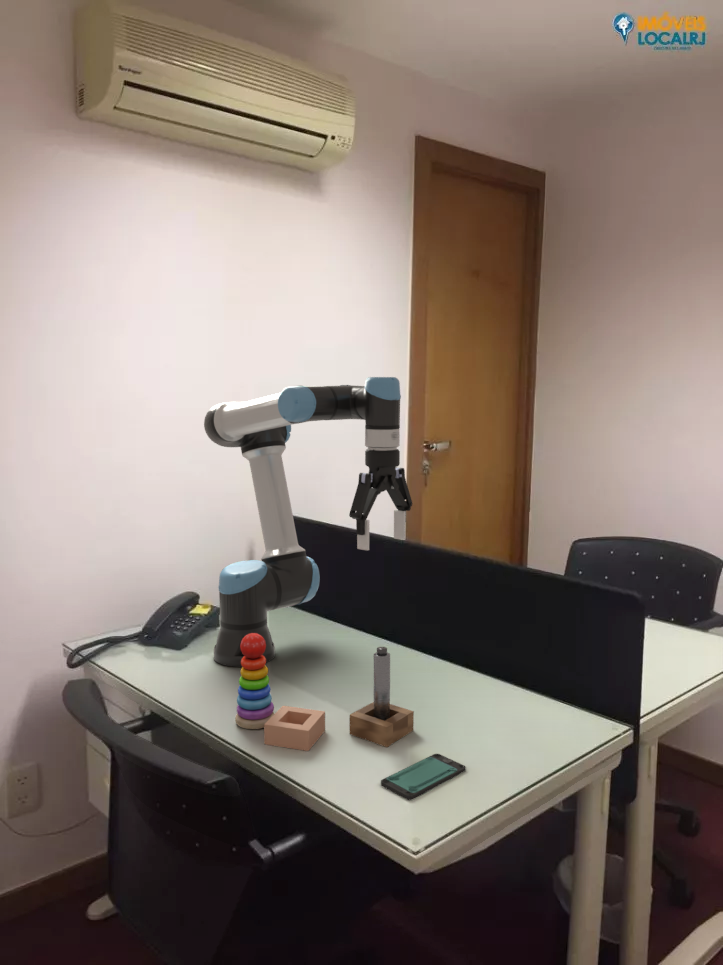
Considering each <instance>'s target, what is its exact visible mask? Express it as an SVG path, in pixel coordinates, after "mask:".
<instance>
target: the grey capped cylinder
mask: <svg viewBox="0 0 723 965" xmlns="http://www.w3.org/2000/svg"><path fill="white" fill-rule="evenodd" d="M373 702H374V717H375V718H378V719H381V720H384V721H385V720H387V719H389V718H390V704H391V654H390V652H388V648H387V647H385V646H378V647H377V648H376V652H374V653H373Z"/></svg>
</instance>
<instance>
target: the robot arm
mask: <svg viewBox="0 0 723 965" xmlns="http://www.w3.org/2000/svg"><path fill="white" fill-rule="evenodd" d="M400 383H401V382H400V380H399V379H398V378H397V377H396V376H395V377H394V376H368V377H366V378H365V383H364V385H351V384H350V385H349V384H341V385H322V386H321V385H318V386H317V385H311V386H310V385H308V386H307V385H293V386H287V387H284V388H283V389H282V391H281V392H279V393H275V394H271V395H267V396H263V397H259V398H255V399H251V400H248V401H229V402H228V401H227V402H222V403H218V404H215V405H213V406H212V407H211V408H210V409H209V410H208V411H207V412H206V415H205V416H204V421H203V425H204V426H203V428H204V431H205V433H206V435H207V437H208V438H209V440H211V442H213V443H214V444H216V445H218V446H220V447H225V448H240V451H241V455H242V457H243V458H244V459H246V460H247V461H248V463H249V467H250V473H251V479H252V485H253V488H254V495H255V501H256V506H257V510H258V516H259V522H260V526H261V532H262V539H263V544H264V548H265V552H264V554H262V556H261V558H260V559H261V560H259V559H258V560H257V559H250V560H241V561H236V562H233V563H231V564H228V565H226V566H225V567H224V568H223V569H222V570H221V571H220V572H219V578H218V579H219V580H218V587H217V588H218V592H219V594H218V595H219V624H220V625H219V626H220V627H219V630H218V634H217V639H216V644H215V645H214V647H213V659H214V661H215V662H216V663H217V664H220V665H223V666H227V667H235V668H236V667H237V668H239V667H241V668H242V665H241V660H242V658H243V657H244V655H243V653H242V652H241V648H240V644H241V641H242V639H243V638H244V637H245V636H246V635H248V634H250V633H257V634H259V635H261V636H262V637H263V638H264V640H265V642H266V649H265V652H264V653H263V654H262V655H263V656H264V657H265V658H266V663H267V662H270V661H271V660H273V659H274V658H275V656H276V650H275V643H274V641H273V639H272V635H271V632H270V629H269V626H268V612H270V611H274V610H279V609H284V608H288V607H292V606H298V605H301V604H303V603H307V602H309V601H311V600H312V599H313V598H314V597H315V596H316V594H317V592H318V589H319V587H320V580H321V579H320V569H319V567H318V565H317V563H316V562H315V560H314V559H313V558H311V557H309V556H307V554H306V553H307V551H306V549H305V548H303V547H302V546H300V545H299V541H298V535H297V531H296V526H295V525H296V524H295V521H294V515H293V510H292V505H291V504H292V503H291V499H290V494H289V489H288V483H287V478H286V474H285V468H284V467H285V466H284V461H283V453H284V451H286V448H287V446H286V443H287V442H288V441H289V440H290V439H291V432H292V425H296V424H303V423H308V422H317V421H337V420H340V421H342V420H360V421H361V420H363V421H365V422H364V424H365V427H364V446H365V447H366V448H367V449H365V450H364V452H365V453H364V455H365V457H364V462H365V463H364V465H365V466H366V467H368V472H359V474H358V484H357V486H356V490H355V493H354V494H355V495H354V497H353V500H352V503H351V507H350V511H349V517H350V518H352V519H353V520H356V521H355V522H356V525H355V526H356V528H355V529H356V532H355V533H356V535H357V536H356V540H357V541H356V542H357V544H356V546H357V547H356V548H357V550H362V551H370V519H367V518H368V516H369V514H370V512H371V510H372V508H373V506H374V504H375V501H376V500H377V497H378V495H380V494H381V493H382V492H385V491H387V494H388V495H389V497H390V500H391V501H392V502H393V505H394V507H395V508H396V509H395V510H393V539H395V540H401V541H404V540H406V529H407V528H406V526H407V525H406V523H407V512H409V511H411V510H412V509H411V508H412V507H413V500H412V497H411V493H410V491H409V490H410V489H409V487H408V484H407V480H406V476H405V475H406V473H405V468H404V467H399V466H400V465H401V464H400V463H401V462H400V454H401V453H400V452H401V451H400V449H399V447H400V436H401V435H400V429H401V427H400V426H401V423H400V421H401V418H400V417H401V398H402V395H401V387H400V386H401V384H400Z"/></svg>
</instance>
